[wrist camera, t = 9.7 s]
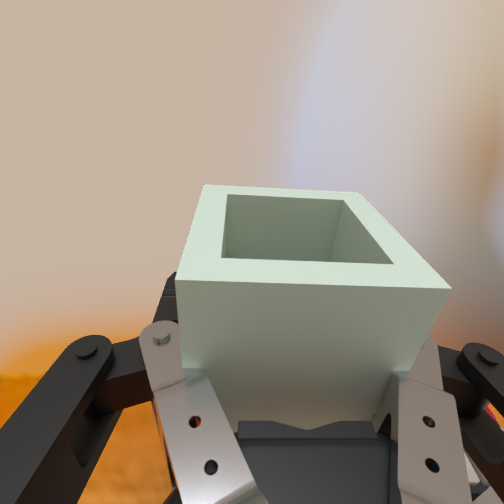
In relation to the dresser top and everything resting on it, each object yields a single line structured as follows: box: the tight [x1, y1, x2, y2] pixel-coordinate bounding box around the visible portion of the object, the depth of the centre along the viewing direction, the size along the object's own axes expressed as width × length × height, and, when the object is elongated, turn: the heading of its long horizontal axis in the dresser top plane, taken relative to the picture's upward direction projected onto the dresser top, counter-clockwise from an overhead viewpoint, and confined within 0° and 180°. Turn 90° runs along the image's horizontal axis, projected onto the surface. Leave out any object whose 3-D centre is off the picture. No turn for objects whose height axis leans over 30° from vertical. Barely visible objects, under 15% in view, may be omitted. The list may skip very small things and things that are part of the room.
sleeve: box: [175, 184, 452, 433], centre depth 12 cm, size 6×6×10 cm
